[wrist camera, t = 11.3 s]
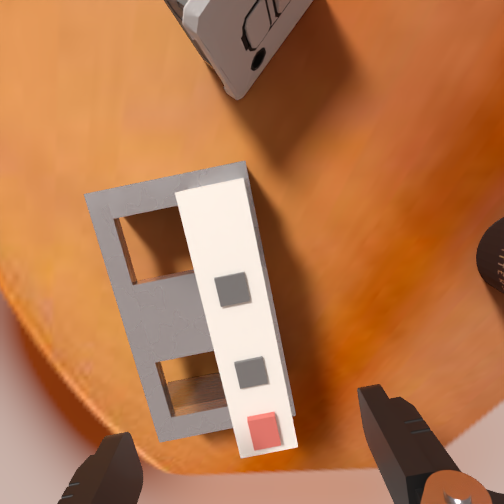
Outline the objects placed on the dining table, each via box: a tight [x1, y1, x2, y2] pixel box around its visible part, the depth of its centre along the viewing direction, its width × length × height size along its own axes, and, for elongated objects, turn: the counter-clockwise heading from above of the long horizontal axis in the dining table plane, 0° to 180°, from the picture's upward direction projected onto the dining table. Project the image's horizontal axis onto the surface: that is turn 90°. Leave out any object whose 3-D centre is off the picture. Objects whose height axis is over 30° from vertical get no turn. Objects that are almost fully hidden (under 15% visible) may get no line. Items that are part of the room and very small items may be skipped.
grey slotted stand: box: [84, 161, 296, 442], centre depth 25 cm, size 10×18×5 cm, turn 11°
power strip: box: [175, 178, 298, 458], centre depth 22 cm, size 16×4×8 cm, turn 11°
